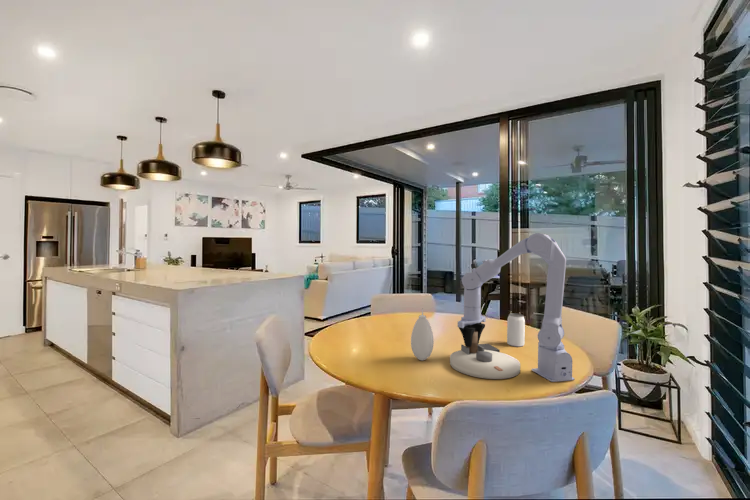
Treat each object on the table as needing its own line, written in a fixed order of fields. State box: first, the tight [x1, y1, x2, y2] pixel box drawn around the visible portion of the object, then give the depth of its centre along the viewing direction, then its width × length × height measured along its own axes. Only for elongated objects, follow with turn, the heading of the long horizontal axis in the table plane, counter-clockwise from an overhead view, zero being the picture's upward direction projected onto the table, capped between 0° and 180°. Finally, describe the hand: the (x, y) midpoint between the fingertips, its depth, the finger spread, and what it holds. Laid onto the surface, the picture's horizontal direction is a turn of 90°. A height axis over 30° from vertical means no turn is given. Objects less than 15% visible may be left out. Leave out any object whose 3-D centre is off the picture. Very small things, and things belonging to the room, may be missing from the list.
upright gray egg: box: [410, 308, 435, 361], centre depth 119 cm, size 8×8×18 cm
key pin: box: [466, 330, 479, 353], centre depth 120 cm, size 4×4×7 cm
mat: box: [478, 343, 501, 352], centre depth 130 cm, size 8×8×1 cm
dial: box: [449, 343, 521, 380], centre depth 113 cm, size 22×22×4 cm
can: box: [506, 312, 526, 348], centre depth 137 cm, size 6×6×12 cm
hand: (471, 344), depth 120 cm, fingers closed on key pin, 4 cm apart
